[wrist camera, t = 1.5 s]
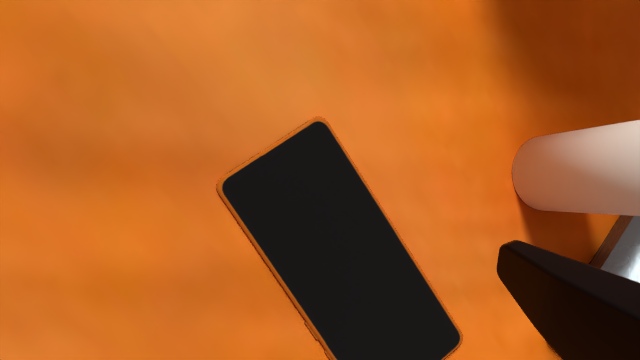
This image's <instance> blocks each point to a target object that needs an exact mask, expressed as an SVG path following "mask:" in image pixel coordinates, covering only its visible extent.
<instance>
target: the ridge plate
mask: <svg viewBox="0 0 640 360" xmlns="http://www.w3.org/2000/svg"><path fill="white" fill-rule="evenodd" d="M589 265H591V266H593V267H596V268H599V269H602V270H605V271H608V272H611V273H613V274H616V275H619V276H622V277H625V278H628V279H631V280H633V281H636V282H639V283H640V216H628V215H620V217H619V218H618V220H617V222H616V223H615V225H614V226H613V228H612V229H611V231H610V233H609V234H608V236H607V237H606V239H605V240H604V242H603V244H602V245H601V247H600V248H599V250H598V251H597V253H596V255H595V256H594V258H593V259H592V261H591V262H590V264H589Z"/></svg>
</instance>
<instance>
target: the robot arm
mask: <svg viewBox="0 0 640 360" xmlns="http://www.w3.org/2000/svg"><path fill="white" fill-rule="evenodd" d="M497 273H498V276H499V278H500V280H501V281H502V282H503V284H504V285H505V287H506V288H507V289H508V291H509V292H510V293H511V295H512V296H513V298H514V299H515V300H516V302H517V303H518V305H519V306H520V307H521V309H522V310H523V312H524V313H525V314H526V316H527V317H528V319H529V320H530V321H531V323H532V324H533V325H534V327H535V328H536V329H537V330H538V332H539V333H540V334H541V335H542V336H543V338H544V339H545V340H546V341H547V342H548V343H549V344H550V346H551V347H552V348H553V349H554V350H555V351H556V352H557V354H558V355H559V356H560V357H561V358H562V359H563V360H640V283H639V282H636V281H633V280H631V279H628V278H625V277H622V276H619V275H616V274H613V273H611V272H608V271H605V270H602V269H599V268H596V267H593V266H591V265H588V264H585V263H582V262H579V261H576V260H573V259H570V258H568V257H565V256H562V255H559V254H556V253H553V252H550V251H548V250H545V249H542V248H539V247H536V246H533V245H530V244H528V243H525V242H522V241H518V240H514V241H511V242H508V243H506V244H503V245H502V246H501V247H500V250H499V256H498V263H497Z"/></svg>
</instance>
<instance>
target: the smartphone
mask: <svg viewBox="0 0 640 360" xmlns="http://www.w3.org/2000/svg"><path fill="white" fill-rule="evenodd" d="M216 190H217V192H218V194H219V195H220V197H221V198H222V200H223V201H224V203H225V204H226V206H227V207H228V209H229V210H230V211H231V213H232V214H233V216H234V217H235V219H236V220H237V222H238V223H239V225H240V226H241V227H242V229H243V230H244V232H245V233H246V235H247V236H248V238H249V239H250V241H251V242H252V244H253V245H254V246H255V248H256V249H257V251H258V252H259V254H260V255H261V257H262V258H263V260H264V261H265V262H266V264H267V265H268V267H269V268H270V270H271V271H272V273H273V274H274V276H275V277H276V279H277V280H278V281H279V283H280V284H281V286H282V287H283V289H284V290H285V292H286V293H287V295H288V296H289V297H290V299H291V300H292V302H293V303H294V305H295V306H296V308H297V309H298V311H299V312H300V313H301V315H302V316H303V318H304V319H305V321H306V322H305V324H306V326H307V327H308V329H309V330H310V332H311V333H312V335H313V336H314V337H315V339H316V340H317V339H318V340H319V341H320V343H321V344H322V346H323V347H324V348H325V351H324V352H325V353H326V355H327V356H328V358H329V359H330V360H444V359H445V358H446V357H447V356H449V355H450V354H451V353H452V352H453V351H454V350H455V349H457V348H458V347H459V346H460V345H461V343H462V340H463V335H462V332H461V331H460V329H459V328H458V326H457V324H456V323H455V321H454V320H453V318H452V317H451V315H450V313H449V312H448V310H447V309H446V307H445V306H444V304H443V302H442V301H441V299H440V298H439V296H438V295H437V293H436V291H435V290H434V288H433V287H432V285H431V284H430V282H429V280H428V279H427V277H426V276H425V274H424V273H423V271H422V269H421V268H420V266H419V265H418V263H417V262H416V260H415V258H414V257H413V255H412V254H411V252H410V251H409V249H408V247H407V246H406V244H405V243H404V241H403V239H402V238H401V236H400V235H399V233H398V232H397V230H396V228H395V227H394V225H393V224H392V222H391V221H390V219H389V217H388V216H387V214H386V213H385V211H384V210H383V208H382V206H381V205H380V203H379V202H378V200H377V199H376V197H375V195H374V194H373V192H372V191H371V189H370V188H369V186H368V184H367V183H366V181H365V180H364V178H363V177H362V175H361V173H360V172H359V170H358V169H357V167H356V166H355V164H354V162H353V161H352V159H351V158H350V156H349V155H348V153H347V151H346V150H345V148H344V147H343V145H342V144H341V142H340V140H339V139H338V137H337V136H336V134H335V133H334V131H333V129H332V128H331V126H330V125H329V123H328V122H327V121H326V120H325V119H324V118H322V117H315V118H313V119H311V120H309V121H308V122H306V123H305V124H303V125H302V126H300V127H298V128H297V129H295V130H294V131H292V132H291V133H289V134H288V135H286V136H285V137H283V138H281V139H280V140H278V141H277V142H276V143H274V144H273V145H271V146H270V147H268V148H266V149H265V150H263V151H262V152H260V153H258V154H257V155H255V156H254V157H252V158H251V159H249V160H247V161H246V162H244V163H243V164H241V165H240V166H238V167H237V168H235V169H234V170H232V171H230V172H229V173H227V174H226V175H224V176H223V177H221V178H220V179H219V180H218V182H217V184H216Z"/></svg>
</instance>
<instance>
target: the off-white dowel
mask: <svg viewBox="0 0 640 360" xmlns="http://www.w3.org/2000/svg"><path fill="white" fill-rule="evenodd" d="M512 179H513V184H514V187H515V190H516V192H517V194H518V196H519V197H520V198H521V200H522V201H523V202H524V203H525V204H527V205H528V206H530V207H531V208H534V209H536V210H542V211H559V212H576V213H594V214H611V215H628V216H640V120H635V121H629V122H623V123H617V124H611V125H605V126H599V127H593V128H587V129H581V130H574V131H568V132H562V133H556V134H550V135H544V136H538V137H534V138H531V139H529V140H528V141H526V142H525V143H524V144H523V145H522V146H521V147H520V148H519V150H518V151H517V153H516V155H515V158H514V161H513V165H512Z"/></svg>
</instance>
